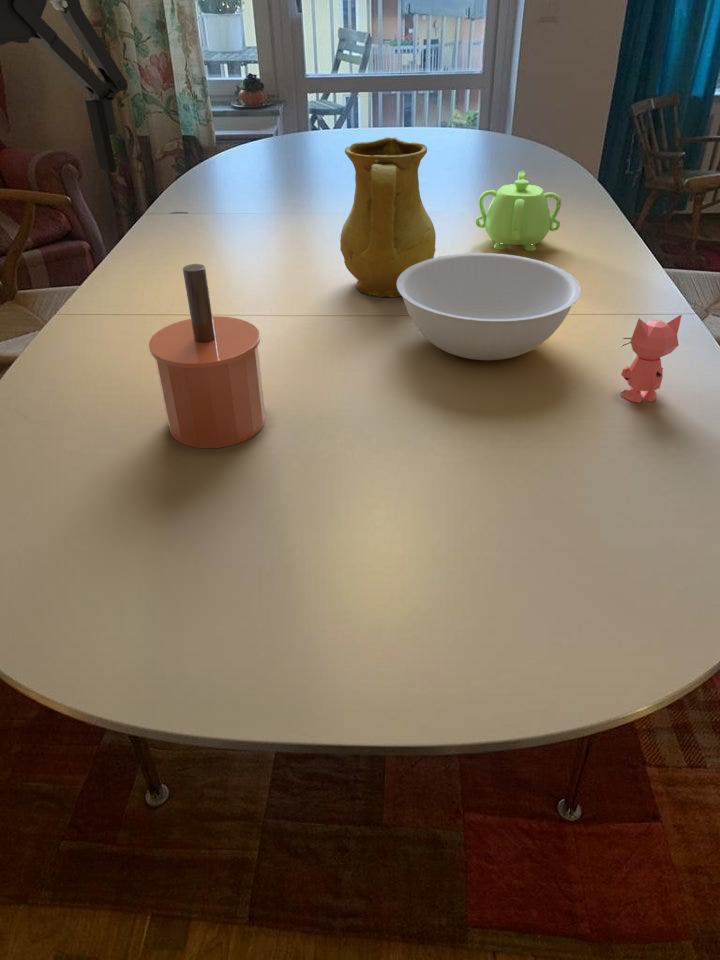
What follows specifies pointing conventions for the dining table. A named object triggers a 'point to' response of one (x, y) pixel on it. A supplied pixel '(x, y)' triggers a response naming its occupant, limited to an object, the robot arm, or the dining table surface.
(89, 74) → the robot arm
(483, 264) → the bowl
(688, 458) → the dining table surface
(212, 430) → the jar
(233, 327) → the lid
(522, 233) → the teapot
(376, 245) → the pitcher
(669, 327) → the cat figurine
